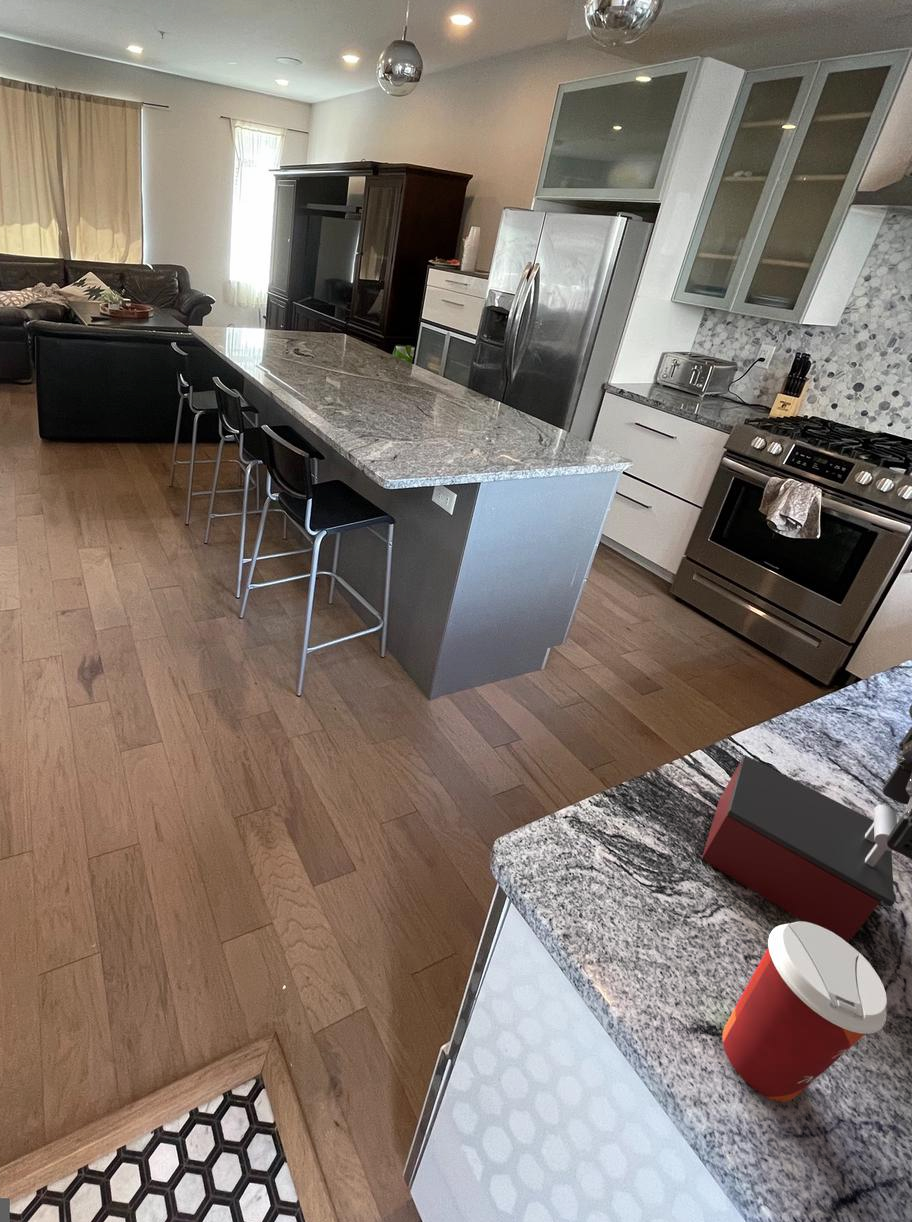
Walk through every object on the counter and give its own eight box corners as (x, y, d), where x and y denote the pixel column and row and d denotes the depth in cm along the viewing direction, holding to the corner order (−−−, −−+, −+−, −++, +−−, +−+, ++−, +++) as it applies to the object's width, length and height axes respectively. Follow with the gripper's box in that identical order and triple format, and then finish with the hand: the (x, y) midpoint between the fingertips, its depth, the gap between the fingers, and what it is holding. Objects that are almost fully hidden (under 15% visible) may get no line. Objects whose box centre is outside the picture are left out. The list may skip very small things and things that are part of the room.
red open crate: (844, 876, 73) (877, 829, 69) (841, 951, 64) (880, 902, 61) (716, 804, 80) (741, 758, 77) (698, 863, 71) (726, 815, 68)
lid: (887, 833, 69) (911, 799, 67) (891, 907, 60) (918, 871, 58) (742, 758, 77) (759, 726, 75) (726, 815, 68) (746, 780, 66)
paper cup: (821, 1143, 49) (915, 1044, 43) (714, 1093, 51) (791, 992, 45) (792, 1036, 56) (869, 938, 50) (699, 995, 58) (763, 897, 52)
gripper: (924, 645, 64) (850, 763, 70) (941, 712, 53) (851, 845, 60) (1023, 680, 60) (935, 803, 66) (1063, 761, 49) (954, 898, 56)
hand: (896, 823), depth 63 cm, fingers open, 8 cm apart
